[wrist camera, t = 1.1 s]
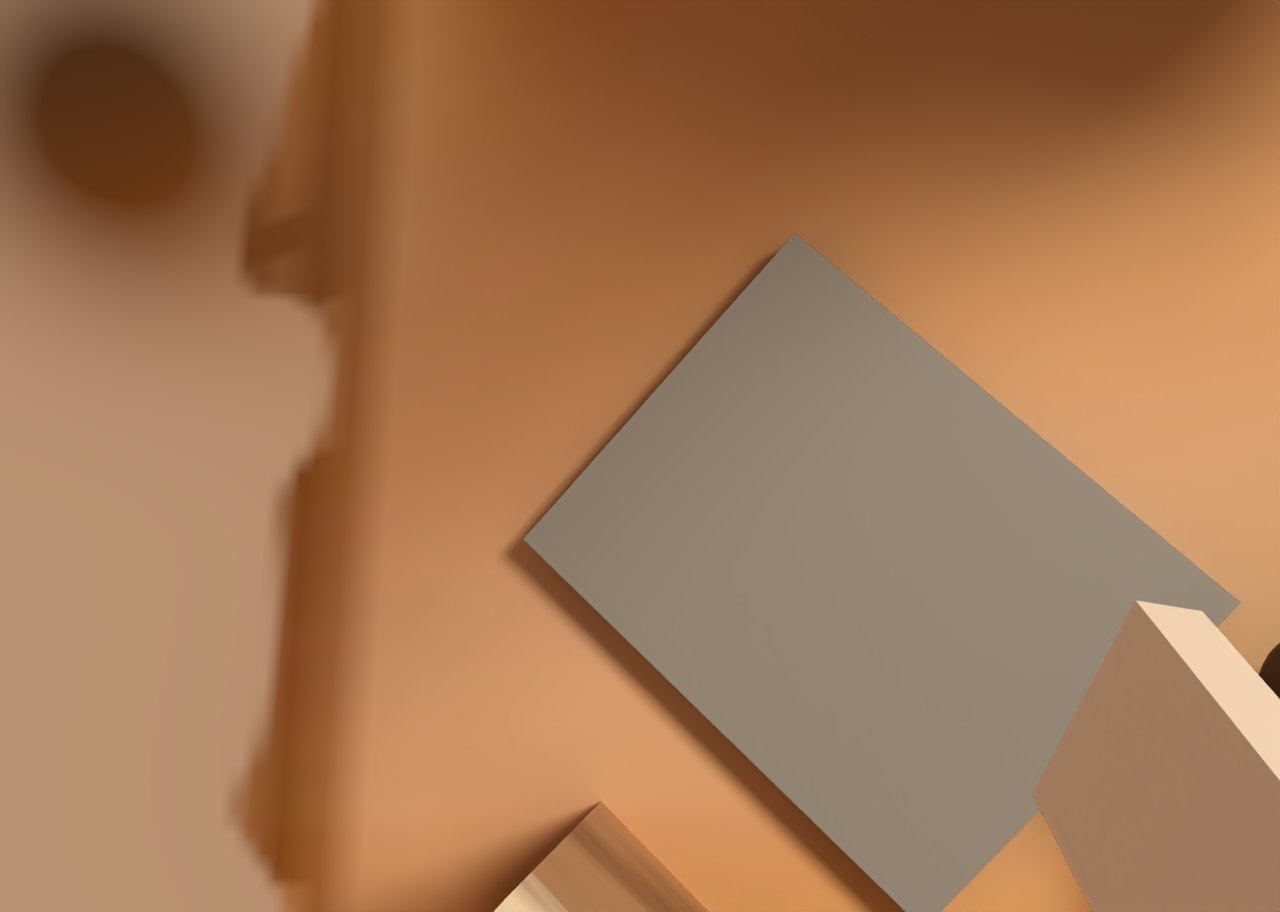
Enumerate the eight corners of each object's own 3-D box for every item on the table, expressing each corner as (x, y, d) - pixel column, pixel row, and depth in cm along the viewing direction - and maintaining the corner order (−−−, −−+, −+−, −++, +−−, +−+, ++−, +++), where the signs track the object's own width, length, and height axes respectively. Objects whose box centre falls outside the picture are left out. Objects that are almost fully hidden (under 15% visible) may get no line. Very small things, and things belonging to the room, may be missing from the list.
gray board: (796, 242, 37) (794, 232, 35) (1227, 600, 33) (1240, 602, 32) (533, 538, 38) (523, 539, 37) (921, 916, 34) (923, 929, 33)
